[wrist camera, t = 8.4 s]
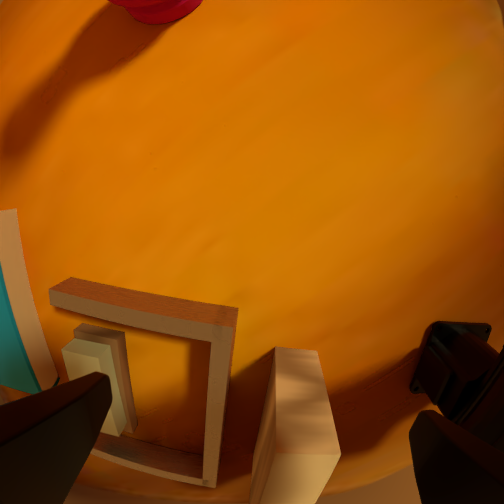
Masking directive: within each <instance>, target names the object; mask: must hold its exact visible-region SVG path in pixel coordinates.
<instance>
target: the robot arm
mask: <svg viewBox="0 0 504 504" xmlns="http://www.w3.org/2000/svg"><path fill="white" fill-rule="evenodd" d="M439 326H440V328H439V329H438V330H437V328H438V327H439ZM486 329H487V330H486ZM491 329H492V328H491V326H490V325H489V324H487V323H467V322H448V321H437V322H435V323H434V324H433V326H432V329H431V332H430V335H429V338H428V341H427V344H426V347H425V349H424V351H423V353H422V356H421V359H420V361H419V364H418V366H417V369H416V371H415V374H414V377H413V380H412V382H411V384H410V387H409V389H410V391H411V393H413V394H418V393H426V394H427V395H428V397H429V399H430V400H431V402H432V403H433V405H437V406H438V408H439V409H440V411H441V412H442V414H443V416H442V415H440V414H439V413H437V412H436V411H434V410H423V411H421V412H420V413H419V414H418V416H417V418H416V420H415V421H414V423H413V425H412V427H411V429H410V431H409V441H410V447H411V453H412V460H413V467H414V473H415V478H416V483H417V486H418V490H419V495H420V499H421V503H422V504H504V345H503V349H502V350H501V352H500V354H499V353H498V352H497V351H496V350H495V349H494V348H492V347H491V346H490V345H489V344H488V343H487V340H488V338H489V335H490V332H491ZM415 387H416V388H415ZM112 400H113V396H112V389H111V382H110V377H109V376H108V375H107V374H104V373H101V372H97V371H95V372H92V373H90V374H87V375H84V376H82V377H79V378H77V379H74V380H71V381H69V382H66V383H63V384H60V385H58V386H55V387H52V388H50V389H47V390H44V391H41V392H38V393H36V394H33V395H30V396H27V397H24V398H21V399H18V400H15V401H12V402H9V403H6V404H4V405H0V504H63V502H64V501H65V499H66V497H67V495H68V493H69V491H70V489H71V487H72V486H73V484H74V482H75V480H76V478H77V476H78V474H79V473H80V471H81V469H82V467H83V465H84V463H85V462H86V460H87V458H88V456H89V454H90V452H91V451H92V449H93V447H94V445H95V443H96V441H97V438H98V436H99V434H100V431H101V429H102V426H103V424H104V421H105V419H106V416H107V414H108V411H109V409H110V407H111V404H112Z"/></svg>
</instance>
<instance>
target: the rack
mask: <svg viewBox="0 0 504 504" xmlns="http://www.w3.org/2000/svg"><path fill="white" fill-rule="evenodd" d="M49 297H50V305H53V306H56V307H60V308H63V309H67V310H70V311H74V312H77V313H81V314H85V315H88V316H92V317H96V318H100V319H104V320H108V321H112V322H116V323H120V324H124V325H129V326H133V327H137V328H142V329H146V330H151V331H156V332H161V333H166V334H171V335H176V336H181V337H186V338H192V339H197V340H203V341H209V342H211V352H210V365H209V378H208V392H207V407H206V423H205V440H204V456H203V455H198V454H193V453H188V452H183V451H179V450H174V449H170V448H166V447H162V446H158V445H154V444H151V443H147V442H143V441H140V440H136V439H133V438H130V437H127V436H123V435H120V436H119V437H118V436H114V435H110V434H107V433H103V432H100V434H99V436H98V438H97V441H96V443H95V445H94V447H93V449H92V451H91V452H90V454H93V455H95V456H98V457H101V458H103V459H106V460H109V461H111V462H114V463H117V464H120V465H123V466H126V467H129V468H132V469H136V470H139V471H142V472H146V473H149V474H153V475H157V476H160V477H164V478H168V479H172V480H177V481H181V482H185V483H190V484H195V485H200V486H206V487H211V488H216V483H217V478H218V473H219V468H220V461H221V452H222V443H223V434H224V426H225V417H226V408H227V400H228V391H229V383H230V374H231V366H232V357H233V349H234V341H235V332H236V324H237V316H238V308H235V307H228V306H222V305H215V304H209V303H202V302H196V301H190V300H184V299H178V298H173V297H167V296H162V295H156V294H151V293H145V292H140V291H135V290H130V289H125V288H120V287H115V286H110V285H105V284H100V283H96V282H91V281H86V280H82V279H77V278H73V277H70V278H69V279H67V280H65V281H63V282H61V283H59V284H57V285H55V286H53V287H51V288H50V289H49Z"/></svg>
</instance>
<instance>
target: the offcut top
mask: <svg viewBox="0 0 504 504" xmlns="http://www.w3.org/2000/svg"><path fill="white" fill-rule="evenodd" d="M61 351H62V355H63V359H64V363H65V367H66V370H67V374H68V377H69V381H71V380H74V379H77V378H79V377H82V376H84V375H87V374H90V373H92V372H95V371H97V372H101V373H104V374H107V375H108V376H109V377H110V382H111V389H112V396H113V400H112V404H111V407H110V409H109V411H108V414H107V416H106V419H105V421H104V424H103V426H102V429H101V431H100V432H103V433H107V434H110V435H114V436H118V437H119V436H120V434H121V432H122V430H123V429H124V427H125V425H126V423H127V420H126V417H125V413H124V409H123V405H122V401H121V397H120V392H119V388H118V383H117V379H116V374H115V369H114V364H113V359H112V354H111V348H110V345H105V344H100V343H95V342H90V341H85V340H80V339H76V338H74V339H73V340H72V341H70V342H69V343H68V344H67V345H66V346H65V347H64V348H62V349H61Z"/></svg>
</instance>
